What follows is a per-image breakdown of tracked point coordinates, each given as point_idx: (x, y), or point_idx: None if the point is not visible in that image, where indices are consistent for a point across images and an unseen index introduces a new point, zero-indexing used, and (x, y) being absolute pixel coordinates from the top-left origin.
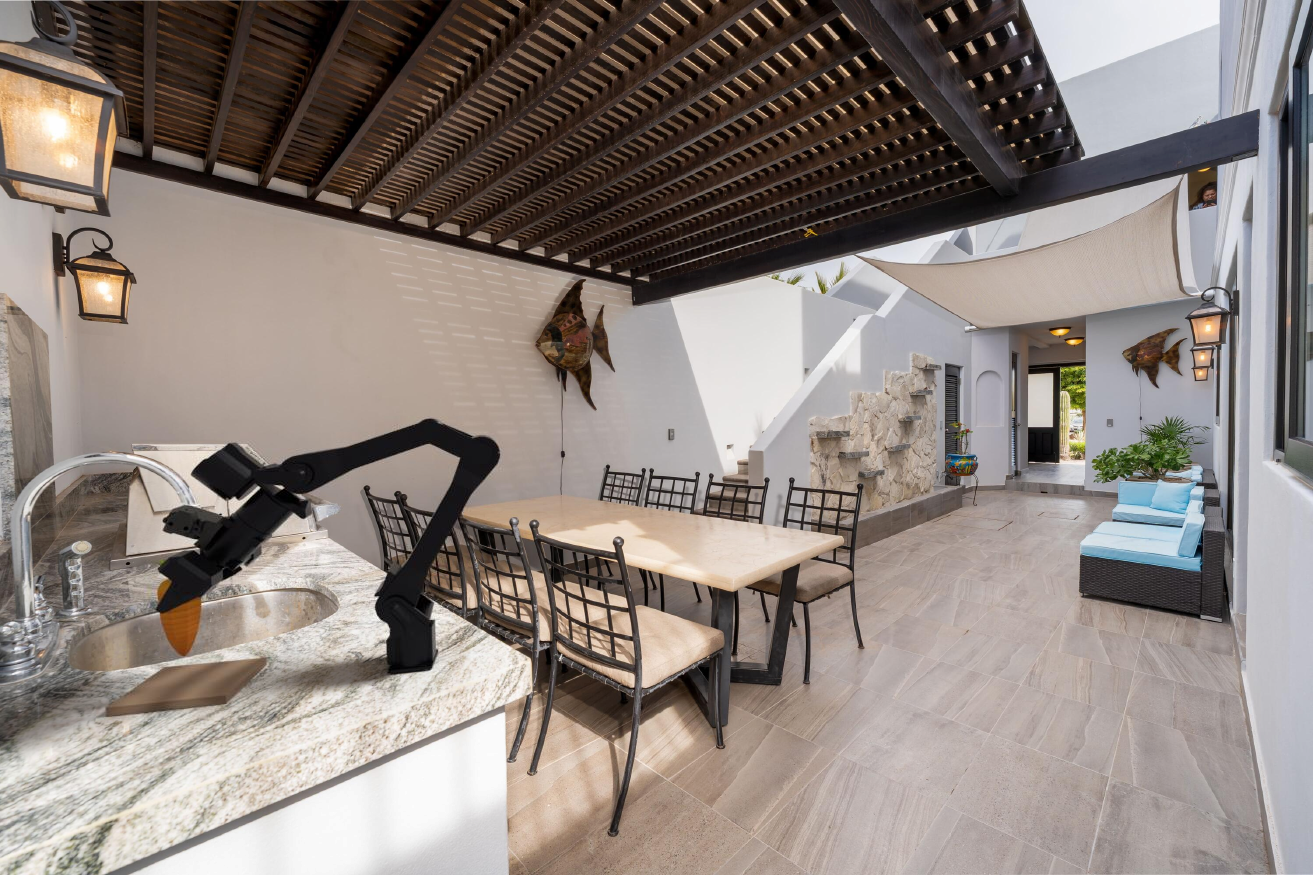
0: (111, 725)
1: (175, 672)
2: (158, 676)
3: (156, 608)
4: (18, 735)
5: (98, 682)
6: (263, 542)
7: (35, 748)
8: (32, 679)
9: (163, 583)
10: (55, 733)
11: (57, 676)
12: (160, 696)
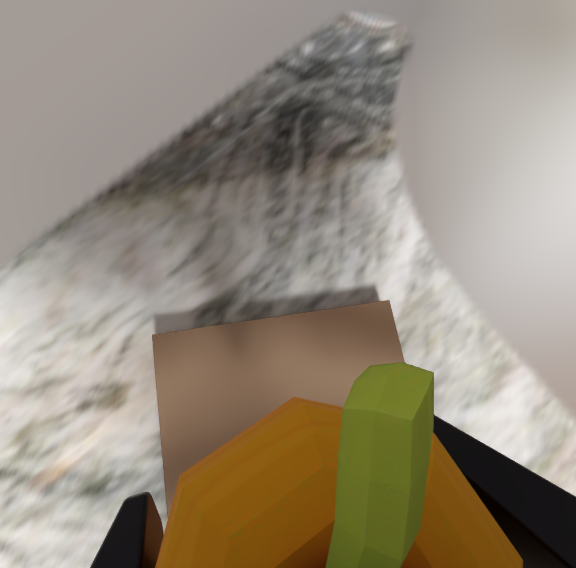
0: (104, 392)
1: (355, 362)
2: (331, 331)
3: (123, 507)
4: (96, 207)
5: (342, 175)
6: None
7: (20, 295)
8: (359, 33)
9: (207, 538)
10: (88, 282)
11: (372, 68)
12: (202, 442)
